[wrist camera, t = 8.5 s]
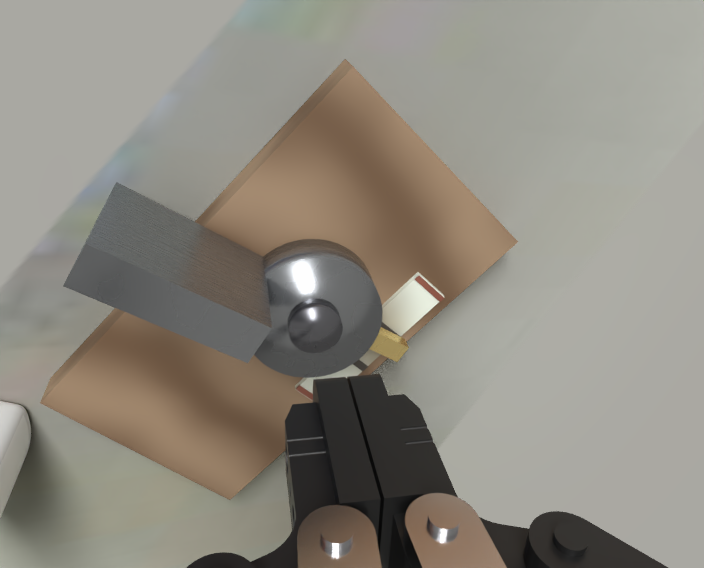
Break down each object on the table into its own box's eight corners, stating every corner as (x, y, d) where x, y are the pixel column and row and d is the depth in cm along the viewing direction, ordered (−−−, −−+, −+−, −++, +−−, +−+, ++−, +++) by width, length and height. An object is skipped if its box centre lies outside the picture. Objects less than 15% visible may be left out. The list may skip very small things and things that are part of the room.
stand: (229, 474, 37) (229, 504, 35) (50, 378, 31) (38, 407, 29) (502, 226, 31) (521, 244, 29) (345, 59, 26) (354, 68, 24)
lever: (363, 386, 32) (388, 470, 27) (75, 260, 26) (36, 336, 21) (434, 296, 30) (476, 367, 25) (141, 134, 24) (115, 185, 19)
